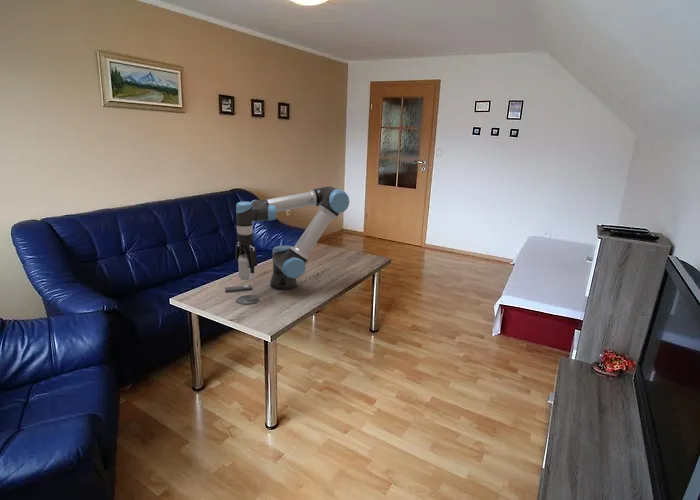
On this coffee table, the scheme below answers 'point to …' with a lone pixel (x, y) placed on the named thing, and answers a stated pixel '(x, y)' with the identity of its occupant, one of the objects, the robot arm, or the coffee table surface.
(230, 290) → the remote
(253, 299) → the coaster
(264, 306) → the coffee table surface
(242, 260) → the can
